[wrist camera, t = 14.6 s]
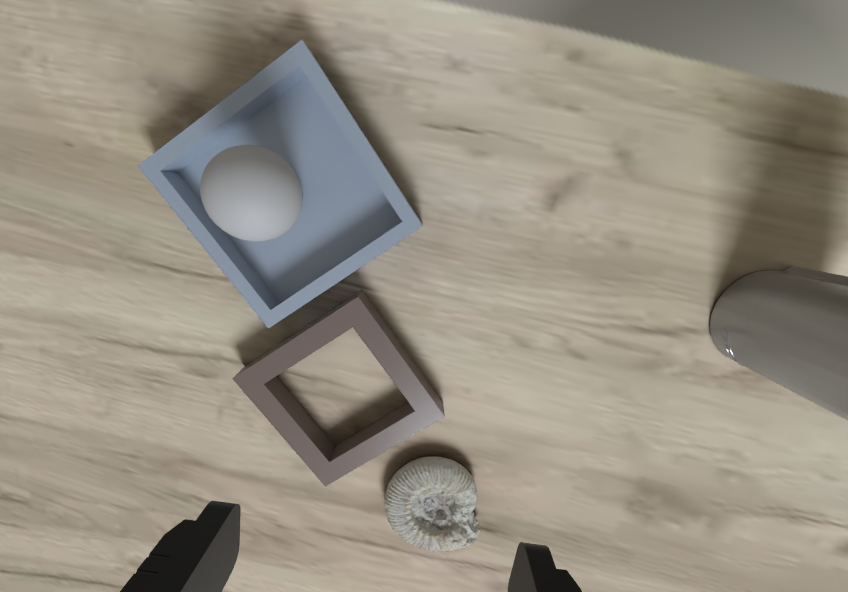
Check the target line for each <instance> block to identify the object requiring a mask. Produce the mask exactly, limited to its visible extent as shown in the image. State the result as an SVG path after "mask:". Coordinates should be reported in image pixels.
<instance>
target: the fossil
mask: <svg viewBox="0 0 848 592" xmlns="http://www.w3.org/2000/svg"><path fill="white" fill-rule="evenodd" d="M476 501H477V490H476V485H475V483H474V479H473V477H472V475H471V474H470V473H469V472H468V471H467V469H465V468H464V467H463V466H462V465H461V464H458V463H457V462H455V461H454V460H451V459H447V458H443V457H438V456H436V457H434V456H432V457H429V456H428V457H423V458H419V459H416V460H414V461H411V462H408V463H407V464H406V465H405V466H403V467H401V468H400V469H399V470H398V471H397V472H396V473H395V475H393V477H392V479H391V480H390V482H389V484H388V486H387V490H386V493H385V500H384V503H385V512H386V516H387V518H388V522H389V523H390V525H391V526H392V528H393V529H394V530H395V532H396V533H398V535H399V536H401V538H403V539H404V540H405V541H407V542H408V543H410V544H412V545H414V546H416V547H419V548H420V549H424V550H426V549H427V550H432V551H435V550H437V551H439V550H441V551H449V550H450V551H452V550H457V549H461V548H465V547H466V546H468V545H471V544H473V543H474V542H475V541H476V537H477V536H478V533H479V532H480V531H481V530H480V528H479V525H478V521H477V520H475V517H474V512H473V510H474V508H475V506H476Z"/></svg>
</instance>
